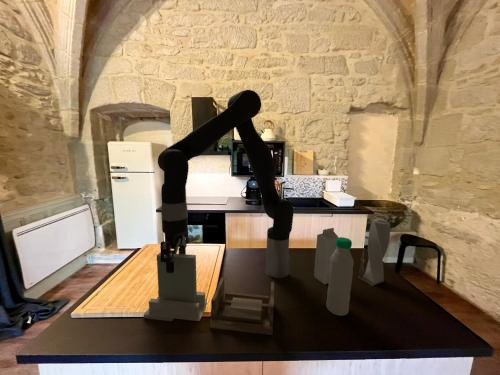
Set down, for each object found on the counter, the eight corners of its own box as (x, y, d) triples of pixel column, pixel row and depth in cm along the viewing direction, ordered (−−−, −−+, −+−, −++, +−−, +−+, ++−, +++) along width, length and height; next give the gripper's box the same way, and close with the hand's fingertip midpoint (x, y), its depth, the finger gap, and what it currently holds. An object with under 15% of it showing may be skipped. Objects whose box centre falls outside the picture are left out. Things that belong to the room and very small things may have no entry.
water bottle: (347, 305, 76) (354, 236, 72) (349, 319, 70) (357, 245, 66) (326, 300, 79) (331, 233, 74) (326, 313, 72) (332, 241, 68)
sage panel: (162, 302, 74) (159, 252, 71) (196, 305, 73) (195, 255, 70) (159, 306, 72) (156, 255, 69) (194, 310, 71) (193, 258, 68)
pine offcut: (233, 306, 69) (233, 297, 68) (261, 309, 68) (262, 300, 67) (230, 316, 64) (230, 307, 64) (260, 319, 63) (261, 310, 63)
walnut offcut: (225, 313, 69) (225, 305, 69) (263, 317, 68) (263, 309, 67) (221, 324, 65) (221, 315, 65) (262, 329, 64) (262, 320, 63)
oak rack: (222, 299, 78) (222, 275, 76) (273, 304, 76) (274, 280, 74) (210, 331, 64) (210, 302, 62) (272, 338, 62) (273, 309, 60)
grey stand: (160, 297, 78) (159, 285, 77) (209, 302, 76) (209, 289, 75) (143, 318, 68) (142, 304, 68) (199, 324, 66) (199, 310, 66)
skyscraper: (370, 272, 97) (377, 211, 92) (388, 282, 90) (397, 216, 85) (357, 277, 94) (364, 213, 89) (375, 287, 86) (383, 219, 82)
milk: (313, 277, 93) (317, 227, 89) (324, 273, 96) (328, 225, 92) (324, 284, 88) (328, 232, 84) (335, 281, 90) (339, 230, 87)
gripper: (173, 209, 74) (175, 253, 77) (150, 222, 60) (153, 276, 63) (195, 210, 74) (196, 255, 76) (175, 224, 60) (178, 278, 62)
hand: (176, 265), depth 70 cm, fingers open, 8 cm apart
